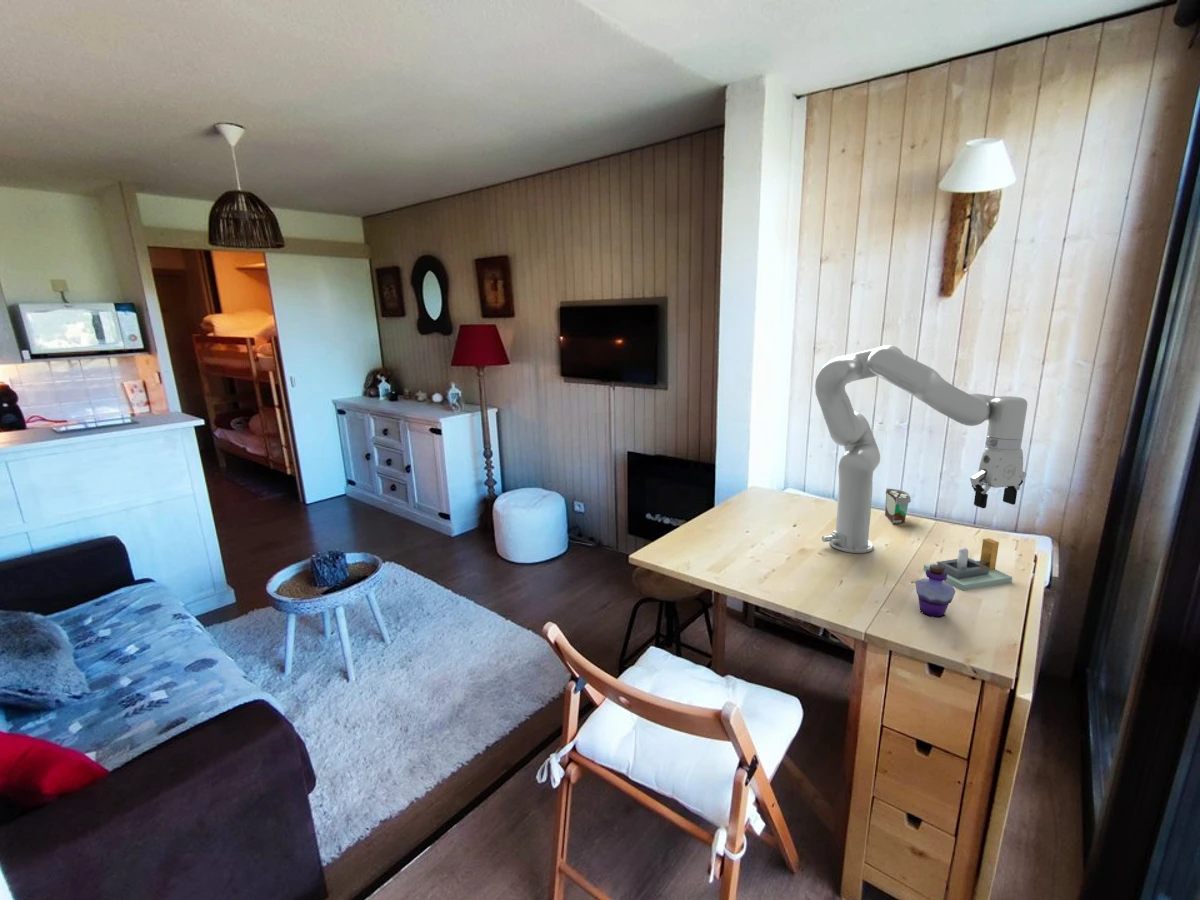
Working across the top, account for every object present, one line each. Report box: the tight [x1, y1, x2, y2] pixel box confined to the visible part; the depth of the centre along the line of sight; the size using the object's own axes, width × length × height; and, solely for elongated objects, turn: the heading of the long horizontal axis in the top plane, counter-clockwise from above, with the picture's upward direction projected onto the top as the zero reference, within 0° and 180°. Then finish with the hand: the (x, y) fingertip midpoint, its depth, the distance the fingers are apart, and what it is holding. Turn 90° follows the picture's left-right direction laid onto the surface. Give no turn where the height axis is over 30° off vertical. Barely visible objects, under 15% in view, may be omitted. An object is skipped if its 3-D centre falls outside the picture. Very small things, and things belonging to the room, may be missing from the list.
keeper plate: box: [923, 547, 1013, 591], centre depth 151 cm, size 16×13×9 cm
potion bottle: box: [914, 564, 956, 619], centre depth 133 cm, size 9×9×12 cm
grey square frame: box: [936, 537, 1000, 579], centre depth 151 cm, size 14×7×8 cm, turn 104°
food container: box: [884, 488, 912, 526], centre depth 193 cm, size 12×6×10 cm, turn 168°
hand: (994, 504), depth 149 cm, fingers open, 9 cm apart
